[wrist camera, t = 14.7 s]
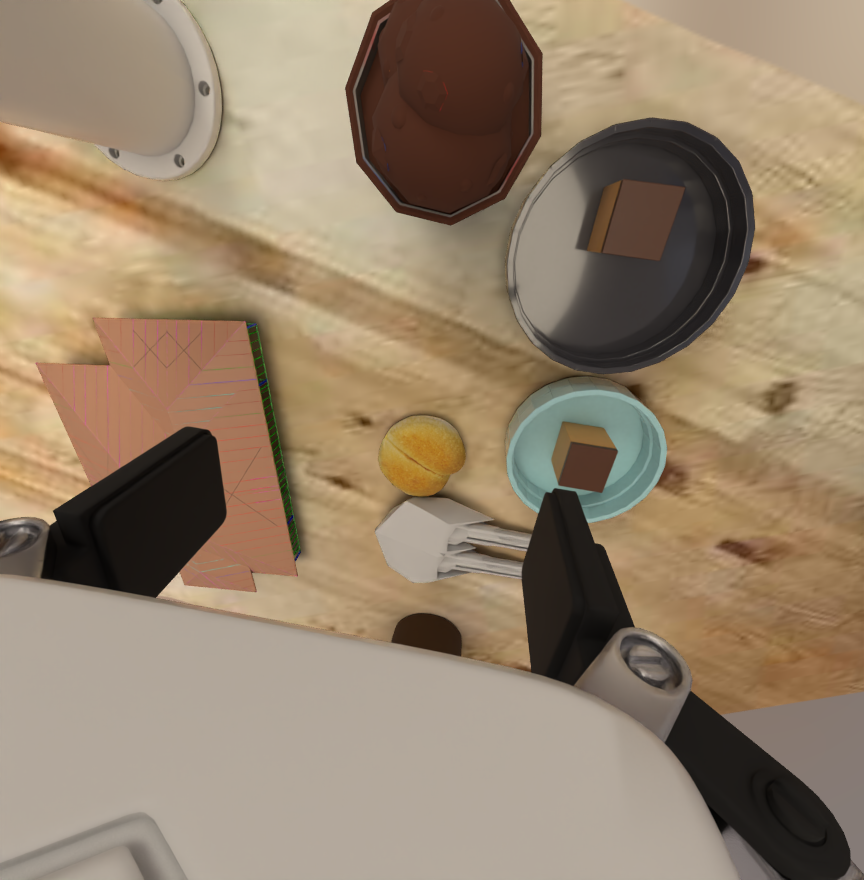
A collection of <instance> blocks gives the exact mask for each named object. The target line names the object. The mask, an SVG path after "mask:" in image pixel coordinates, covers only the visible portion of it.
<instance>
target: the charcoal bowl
mask: <svg viewBox="0 0 864 880" xmlns="http://www.w3.org/2000/svg"><path fill="white" fill-rule="evenodd" d="M623 179H628V180H636V181H643V182H651V183H659V184H666V185H674V186H682V187H686V188H685V191H684V194H683V197H682V200H681V202H680V205H679V208H678V211H677V214H676V217H675V219H674V222H673V225H672V228H671V231H670V234H669V236H668V239H667V242H666V245H665V248H664V251H663V253H662V256H661V259H660V261H654V260H647V259H640V258H633V257H625V256H618V255H611V254H604V253H597V252H591V251H587V248H588V245H589V241H590V237H591V234H592V230H593V226H594V223H595V219H596V215H597V212H598V208H599V204H600V201H601V197H602V193H603V190H604V187H606V186H608V185H611V184H613V183H616V182H618V181H620V180H623ZM754 231H755V219H754V207H753V195H752V191H751V189H750V186H749V184H748V181H747V179H746V177H745V174H744V172H743V169H742V167H741V164H740V162H739V161H738V160H737V158H736V157H735V156H734V155H733V154H732V153H731V152H730V151H729V150H728V149H727V148H726V146H725V145H724V144H723V143H722V142H721V141H720V140H719V139H718V138H716V136H714V135H712V134H710V133H708V132H706V131H704V130H702V129H700V128H698V127H696V126H694V125H692V124H690V123H688V122H684V121H676V120H668V119H659V118H646V119H641V120H635V121H630V122H625V123H619V124H615V125H612V126H610V127H608V128H606V129H604V130H602V131H600V132H598V133H596V134H594V135H592V136H590V137H588V138H586V139H584V140H582V141H580V142H579V143H577V144H576V145H575V146H574V147H573V148H572V149H570V150H569V151H568V152H567V153H566V154H564V155H563V156H562V157H561V158H560V159H559V160H557V161H556V162H555V163H554V164H553V165H551V166H550V167H549V168H548V170H547V171H546V172H545V173H544V174H543V175H542V176H541V178H540V179H539V180H538V182H537V183H536V184H535V186H534V187H533V188H532V190H531V191H530V192H529V194H528V195H527V196H526V198H525V199H524V201H523V202H522V205H521V207H520V209H519V211H518V214H517V216H516V218H515V220H514V223H513V225H512V227H511V231H510V234H509V239H508V244H507V250H506V255H505V278H506V289H507V293H508V296H509V299H510V302H511V305H512V308H513V311H514V314H515V317H516V319H517V321H518V323H519V324H520V326H521V327H522V329H523V330H524V332H525V333H526V335H527V336H528V338H529V339H530V341H531V342H532V343H533V344H534V345H535V346H536V347H537V348H539V349H540V350H541V351H542V352H543V353H544V354H546V355H547V356H548V357H549V358H550V359H552V360H554V361H556V362H558V363H561V364H563V365H565V366H567V367H570V368H572V369H574V370H578V371H584V372H591V373H597V374H612V373H623V372H632V371H635V370H638V369H641V368H644V367H647V366H650V365H653V364H656V363H659V362H661V361H663V360H665V359H666V358H668V357H670V356H672V355H673V354H675V353H677V352H678V351H680V350H682V349H684V348H685V347H687V346H688V345H690V344H691V343H692V342H693V341H694V340H695V339H696V338H697V337H699V336H700V335H701V334H702V333H703V332H704V331H705V330H706V329H707V328H709V327H710V326H711V325H712V324H713V323H714V322H715V320H716V319H717V318H718V316H719V315H720V313H721V312H722V311H723V309H724V308H725V307H726V305H727V304H728V303H729V301H730V300H731V299H732V297H733V296H734V294H735V292H736V290H737V287H738V285H739V283H740V281H741V278H742V276H743V274H744V272H745V270H746V267H747V265H748V262H749V258H750V253H751V247H752V242H753V237H754Z"/></svg>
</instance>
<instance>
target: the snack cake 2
mask: <svg viewBox="0 0 864 880" xmlns="http://www.w3.org/2000/svg"><path fill="white" fill-rule="evenodd" d="M685 188H686V187H682V186H674V185H666V184H659V183H651V182H643V181H636V180H628V179H623V180H620V181H618V182H616V183H613V184H611V185H608V186H606V187H604V190H603V193H602V197H601V201H600V204H599V208H598V212H597V215H596V219H595V223H594V226H593V230H592V234H591V237H590V241H589V245H588V248H587V251H591V252H597V253H604V254H611V255H618V256H625V257H633V258H640V259H647V260H654V261H660V259H661V256H662V253H663V251H664V248H665V245H666V242H667V239H668V236H669V234H670V231H671V228H672V225H673V222H674V219H675V217H676V214H677V211H678V208H679V205H680V202H681V200H682V197H683V194H684V191H685Z"/></svg>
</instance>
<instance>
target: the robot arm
mask: <svg viewBox="0 0 864 880" xmlns="http://www.w3.org/2000/svg"><path fill="white" fill-rule="evenodd" d="M209 89H210V93H209ZM221 114H222V99H221V86H220V81H219V76H218V71H217V67H216V64H215V61H214V58H213V55H212V52H211V49H210V47H209V45H208V42H207V40H206V38H205V36H204V34H203V32H202V30H201V28H200V26H199V25H198V23H197V22H196V20H195V19H194V17H193V16H192V14H191V13H190V12H189V10H188V9H187V7H186V6H185V5H184V4H183V3H182V2H181V1H180V0H0V122H3V123H7V124H11V125H16V126H20V127H24V128H29V129H33V130H37V131H41V132H46V133H50V134H54V135H58V136H63V137H67V138H71V139H75V140H80V141H84V142H88V143H93V144H94V145H95V146H96V147H97V148H98V149H99V150H100V151H101V152H102V153H103V154H104V155H105V156H106V157H107V158H108V159H110V160H111V161H112V162H114V163H115V164H117V165H118V166H120V167H121V168H123V169H124V170H127V171H129V172H131V173H133V174H135V175H137V176H141V177H145V178H149V179H155V180H163V181H168V180H178V179H180V178H183V177H186V176H188V175H190V174H192V173H193V172H195V171H196V170H197V169H199V168H200V167H201V166H202V165H203V163H204V162H205V161H206V160H207V159H208V157H209V156H210V154H211V152H212V150H213V148H214V146H215V144H216V141H217V137H218V133H219V130H220V125H221ZM184 161H185V163H184ZM53 512H54V515H55V517H56V520H57V521H56V522H54V523H53V524H51V525H50V526H49V524H48V523H47V522H45V521H44V520H42V519H39V518H35V517H21V518H13V519H7V520H3V521H0V880H864V874H863V873H862V872H861V870H860V869H859V868H858V867H857V866H856V865H855V864H854V863H853V862H852V860H851V859H850V848H849V846H848V843H847V840H846V838H845V835H844V832H843V831H842V829H841V827H840V826H839V824H838V822H837V821H836V819H835V817H834V815H833V814H832V813H831V811H830V810H829V809H828V808H827V807H826V805H825V804H824V803H823V802H822V801H821V800H820V798H819V797H818V796H817V795H816V794H815V793H814V792H813V791H812V790H811V789H809V788H808V786H806V785H805V784H804V783H803V782H802V781H801V780H800V779H798V778H797V777H796V776H795V775H793V774H792V773H791V772H790V771H789V770H787V769H786V768H785V767H784V766H782V765H781V764H780V763H779V762H777V761H776V760H775V759H774V758H773V757H771V756H770V755H769V754H768V753H766V752H765V751H764V750H763V749H762V748H760V747H759V746H758V745H757V744H755V743H754V742H753V741H752V740H750V739H749V738H748V737H747V736H745V735H744V734H743V733H742V732H741V731H739V730H738V729H737V728H736V727H734V726H733V725H732V724H731V723H730V722H728V721H727V720H726V719H725V718H723V717H722V716H721V715H720V714H718V713H717V712H716V711H715V710H714V709H712V708H711V707H710V706H709V705H707V704H706V703H705V702H704V701H702V700H701V699H700V698H699V697H698V696H696V695H695V694H694V693H693V692H691V691H690V690H691V685H692V677H691V672H690V669H689V667H688V665H687V664H686V662H685V660H684V658H683V657H682V656H681V655H680V654H679V652H678V651H677V650H676V649H675V648H674V647H673V646H672V645H670V644H669V643H668V642H667V641H666V640H664V639H663V638H661V637H659V636H658V635H656V634H654V633H652V632H650V631H647V630H644V629H641V628H635V626H634V624H633V621H632V618H631V616H630V613H629V611H628V608H627V605H626V603H625V600H624V597H623V595H622V592H621V590H620V587H619V584H618V582H617V579H616V576H615V574H614V571H613V569H612V566H611V563H610V561H609V558H608V556H607V553H606V550H605V549H604V547H603V546H602V545H601V544H596V543H594V540H593V537H592V534H591V531H590V529H589V526H588V523H587V520H586V517H585V515H584V512H583V509H582V506H581V503H580V501H579V498H578V495H577V493H576V492H575V491H570V490H564V489H558V488H554V489H553V491H552V493H550V492H546V493H545V494H544V497H543V500H542V504H541V507H540V510H539V513H538V517H537V520H536V523H535V526H534V530H533V533H532V536H531V539H530V543H529V546H528V549H527V552H526V556H525V559H524V562H523V566H522V586H523V596H524V605H525V615H526V624H527V633H528V643H529V652H530V662H531V671H532V673H530V672H526V671H522V670H519V669H515V668H511V667H507V666H502V665H498V664H493V663H488V662H484V661H479V660H474V659H469V658H465V657H460V656H455V655H451V654H446V653H441V652H436V651H431V650H426V649H421V648H416V647H411V646H406V645H401V644H396V643H390V642H385V641H380V640H375V639H370V638H365V637H360V636H355V635H350V634H345V633H339V632H334V631H329V630H324V629H319V628H313V627H308V626H303V625H298V624H292V623H287V622H282V621H277V620H271V619H266V618H261V617H256V616H250V615H245V614H240V613H234V612H229V611H224V610H219V609H213V608H208V607H202V606H197V605H192V604H186V603H181V602H175V601H170V600H164V599H159V598H156V597H157V596H158V595H159V594H160V593H161V591H162V590H163V589H164V588H165V587H166V586H167V585H168V584H169V583H170V582H171V580H172V579H173V578H174V577H175V576H176V575H177V574H178V573H179V572H180V571H181V569H182V568H183V567H184V566H185V565H186V564H187V563H188V562H189V561H190V559H191V558H192V557H193V556H194V555H195V554H196V553H197V552H198V551H199V550H200V548H201V547H202V546H203V545H204V544H205V543H206V542H207V541H208V540H209V539H210V537H211V536H212V535H213V534H214V533H215V532H216V531H217V530H218V529H219V528H220V526H221V525H222V524H223V523H224V521H225V519H226V515H227V509H226V501H225V494H224V487H223V480H222V473H221V466H220V459H219V452H218V444H217V439H216V437H215V436H212V434H211V432H210V431H209V430H207V429H201V428H195V427H189V426H186V427H184V428H182V429H180V430H179V431H177V432H176V433H174V434H173V435H171V436H169V437H168V438H166V439H165V440H163V441H162V442H160V443H158V444H157V445H155V446H154V447H152V448H151V449H149V450H147V451H146V452H144V453H143V454H141V455H140V456H138V457H137V458H135V459H133V460H132V461H130V462H129V463H127V464H126V465H124V466H122V467H121V468H119V469H118V470H116V471H115V472H113V473H111V474H110V475H108V476H107V477H105V478H104V479H102V480H100V481H99V482H97V483H96V484H94V485H93V486H91V487H89V488H88V489H86V490H85V491H83V492H82V493H80V494H78V495H77V496H75V497H74V498H72V499H71V500H69V501H67V502H66V503H64V504H63V505H61V506H60V507H58V508H56V509H55V510H53Z"/></svg>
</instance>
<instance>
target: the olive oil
mask: <svg viewBox="0 0 864 880" xmlns="http://www.w3.org/2000/svg"><path fill="white" fill-rule="evenodd" d="M391 643H396V644H401V645H406V646H411V647H416V648H421V649H426V650H431V651H436V652H441V653H446V654H451V655H455V656H460V657H461V636H460V633H459V631H458V630H457V628H456V627H455V626H454V625H453V624H452V623H450V622H449V621H447V620H446V619H444V618H441V617H439V616H436V615H431V614H415V615H411V616H408V617H406V618H404V619H402V620H401V621H400V622H399V623H398V624H397V626H396V628H395V631H394V634H393V638H392V642H391Z"/></svg>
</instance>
